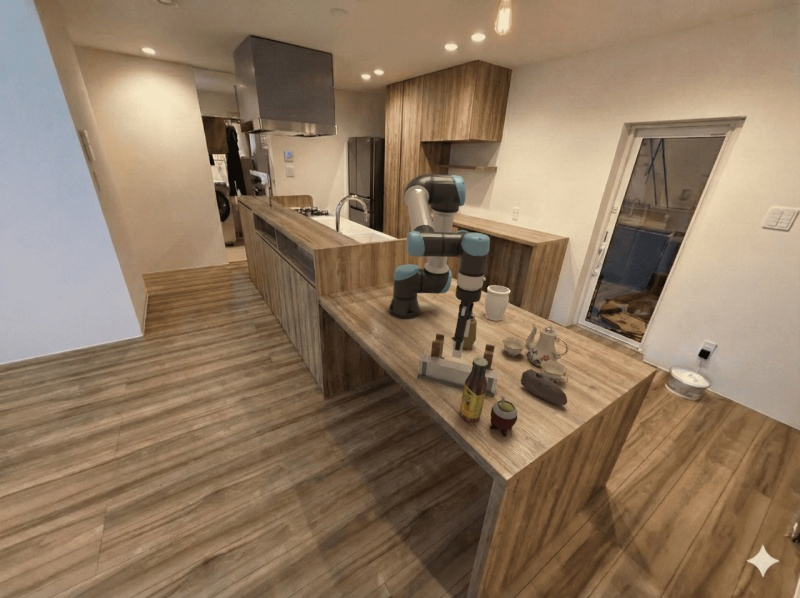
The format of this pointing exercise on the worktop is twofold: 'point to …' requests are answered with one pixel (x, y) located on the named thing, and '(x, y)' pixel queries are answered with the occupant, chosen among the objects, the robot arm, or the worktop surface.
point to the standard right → (489, 355)
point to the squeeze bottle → (470, 334)
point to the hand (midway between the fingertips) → (460, 346)
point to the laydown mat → (447, 383)
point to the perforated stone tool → (543, 387)
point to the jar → (496, 302)
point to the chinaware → (540, 351)
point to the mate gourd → (503, 416)
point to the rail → (452, 372)
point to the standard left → (438, 346)
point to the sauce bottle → (474, 390)
